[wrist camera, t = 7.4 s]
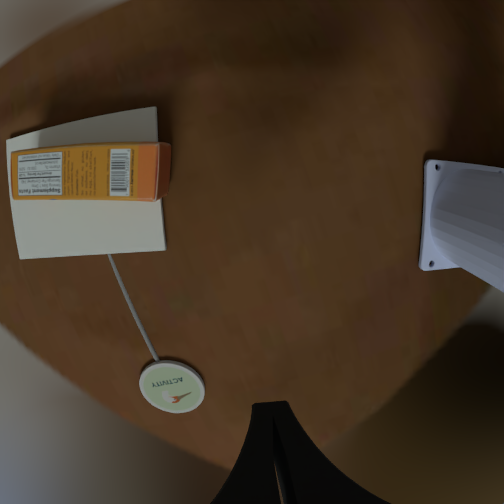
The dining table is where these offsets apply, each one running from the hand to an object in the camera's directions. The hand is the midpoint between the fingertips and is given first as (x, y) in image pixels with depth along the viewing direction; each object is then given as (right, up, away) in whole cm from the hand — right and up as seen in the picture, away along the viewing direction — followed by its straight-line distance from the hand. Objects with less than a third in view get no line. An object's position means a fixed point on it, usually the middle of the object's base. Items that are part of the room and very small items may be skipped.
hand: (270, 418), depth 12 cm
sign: (-8, +1, +11) cm, 14 cm away
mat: (-12, +11, +7) cm, 18 cm away
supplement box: (-5, +11, +5) cm, 13 cm away
